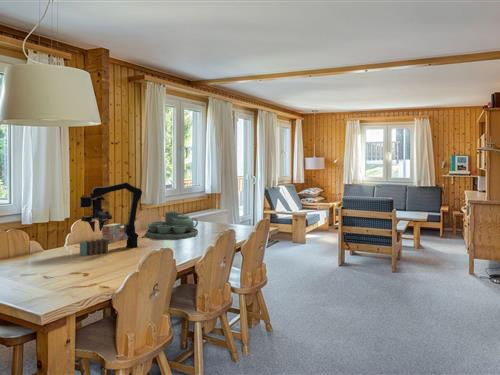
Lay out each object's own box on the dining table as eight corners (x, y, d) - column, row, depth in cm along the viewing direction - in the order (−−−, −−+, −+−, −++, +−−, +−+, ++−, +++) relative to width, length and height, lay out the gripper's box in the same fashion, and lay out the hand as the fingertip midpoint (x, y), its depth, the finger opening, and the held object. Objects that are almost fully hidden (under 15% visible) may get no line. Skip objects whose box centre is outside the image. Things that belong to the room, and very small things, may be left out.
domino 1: (87, 253, 266) (87, 240, 265) (92, 254, 263) (92, 241, 262) (85, 254, 265) (85, 241, 264) (89, 255, 261) (89, 242, 261)
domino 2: (93, 252, 269) (93, 240, 268) (97, 253, 265) (97, 241, 265) (90, 253, 267) (90, 240, 267) (95, 254, 264) (95, 241, 264)
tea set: (136, 234, 338) (136, 213, 337) (179, 229, 365) (179, 209, 364) (164, 241, 309) (164, 219, 308) (208, 235, 336) (208, 214, 335)
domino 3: (98, 251, 271) (98, 239, 271) (102, 252, 268) (102, 240, 268) (96, 252, 270) (95, 239, 270) (100, 253, 267) (100, 240, 266)
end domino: (82, 254, 263) (82, 241, 262) (86, 255, 260) (86, 242, 259) (79, 254, 262) (79, 241, 261) (84, 256, 259) (84, 243, 258)
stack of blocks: (122, 238, 319) (121, 221, 319) (129, 238, 317) (128, 222, 316) (102, 243, 300) (102, 225, 299) (109, 243, 297) (109, 226, 296)
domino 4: (103, 250, 274) (103, 238, 274) (107, 252, 271) (107, 239, 271) (101, 251, 273) (101, 238, 272) (105, 252, 270) (105, 239, 269)
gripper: (90, 209, 263) (90, 234, 264) (117, 207, 277) (117, 231, 278) (80, 207, 270) (81, 232, 271) (107, 205, 284) (107, 229, 285)
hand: (97, 231), depth 276 cm, fingers open, 4 cm apart
